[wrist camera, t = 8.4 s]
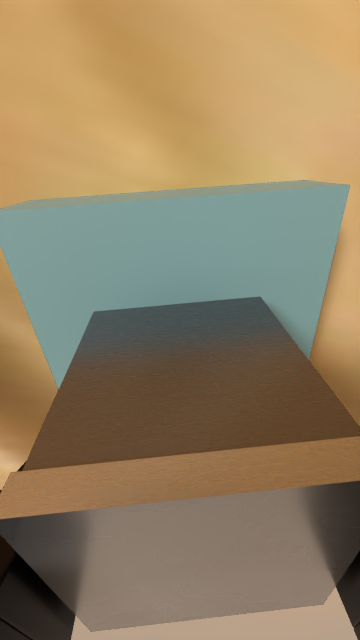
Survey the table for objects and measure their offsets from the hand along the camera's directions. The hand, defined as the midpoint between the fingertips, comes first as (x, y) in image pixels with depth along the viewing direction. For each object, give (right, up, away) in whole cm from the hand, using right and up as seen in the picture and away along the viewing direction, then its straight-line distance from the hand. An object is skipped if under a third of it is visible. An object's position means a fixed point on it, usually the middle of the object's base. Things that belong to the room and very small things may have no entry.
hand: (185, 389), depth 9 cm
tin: (0, +1, +1) cm, 1 cm away
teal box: (0, +3, +5) cm, 6 cm away
